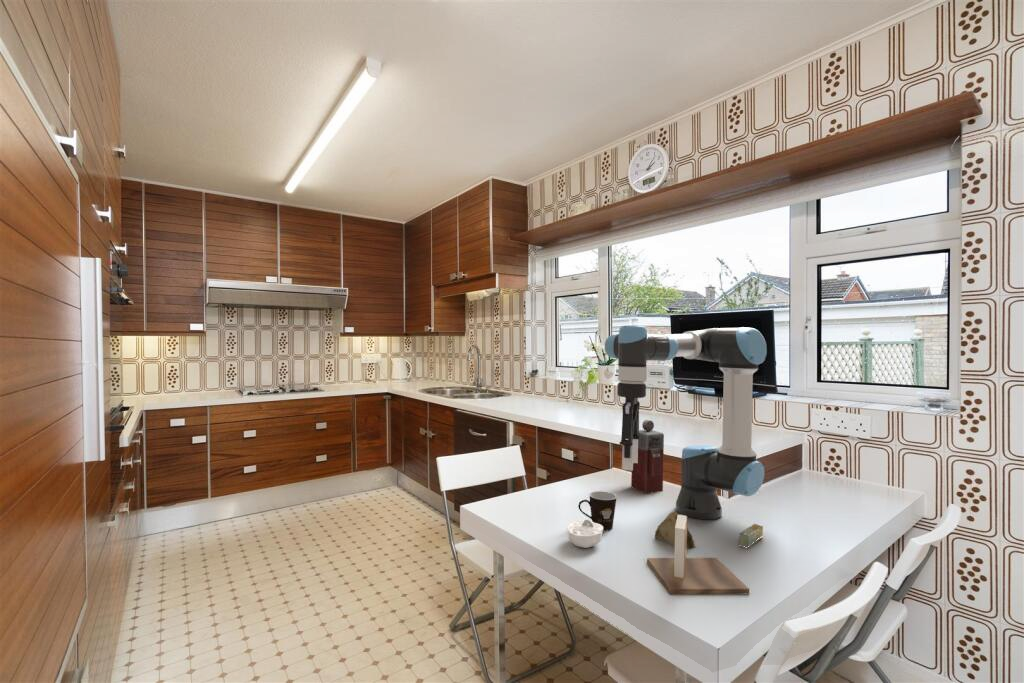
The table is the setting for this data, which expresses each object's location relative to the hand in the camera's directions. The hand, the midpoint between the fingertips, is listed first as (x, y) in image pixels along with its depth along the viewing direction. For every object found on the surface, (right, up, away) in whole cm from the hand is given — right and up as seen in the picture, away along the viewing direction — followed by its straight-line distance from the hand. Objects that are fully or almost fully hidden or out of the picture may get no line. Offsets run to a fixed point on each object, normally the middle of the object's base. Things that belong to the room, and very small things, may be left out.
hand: (630, 465), depth 128 cm
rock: (+16, -26, +12) cm, 33 cm away
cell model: (-11, -25, +8) cm, 29 cm away
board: (+14, -26, -9) cm, 31 cm away
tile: (+11, -24, -8) cm, 28 cm away
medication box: (+40, -27, +13) cm, 50 cm away
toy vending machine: (+23, -26, +62) cm, 71 cm away
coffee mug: (-5, -26, +23) cm, 34 cm away
